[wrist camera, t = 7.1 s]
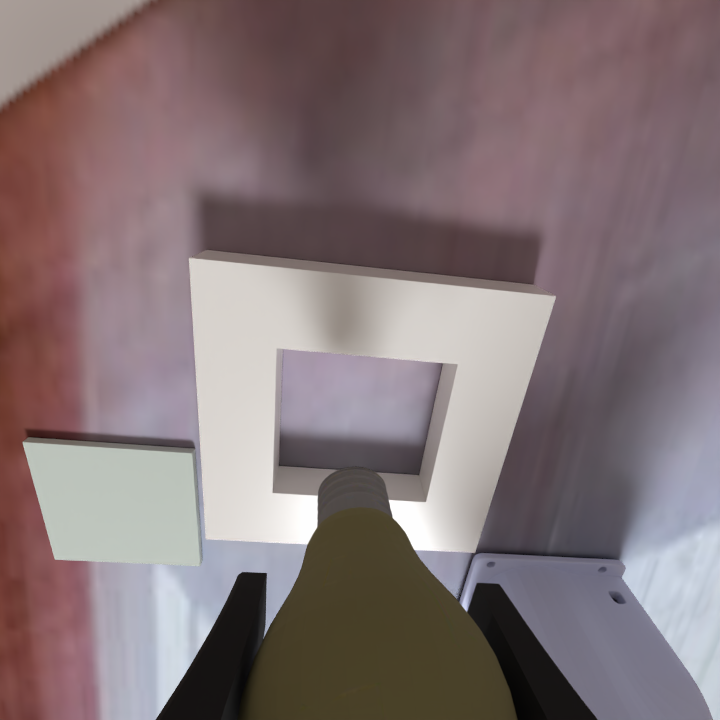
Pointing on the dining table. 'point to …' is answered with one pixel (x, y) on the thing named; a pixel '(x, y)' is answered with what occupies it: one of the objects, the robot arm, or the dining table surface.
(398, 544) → the light bulb
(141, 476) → the rubber pad
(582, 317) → the dining table surface
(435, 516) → the socket block
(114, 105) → the dining table surface
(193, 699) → the robot arm
